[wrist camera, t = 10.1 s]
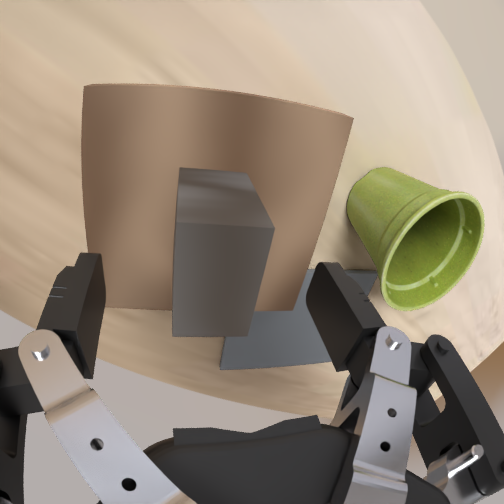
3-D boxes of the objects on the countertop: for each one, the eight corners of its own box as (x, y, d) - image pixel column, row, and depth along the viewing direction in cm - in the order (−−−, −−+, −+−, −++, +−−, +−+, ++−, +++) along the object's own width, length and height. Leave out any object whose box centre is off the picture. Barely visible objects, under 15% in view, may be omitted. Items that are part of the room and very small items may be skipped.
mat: (219, 366, 33) (220, 369, 33) (238, 267, 26) (239, 270, 25) (330, 358, 37) (331, 361, 36) (376, 270, 29) (378, 273, 29)
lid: (100, 293, 17) (82, 377, 12) (92, 84, 11) (29, 102, 6) (287, 297, 20) (318, 374, 15) (342, 113, 14) (420, 150, 9)
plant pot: (429, 152, 23) (500, 196, 16) (404, 243, 28) (455, 300, 21) (337, 142, 21) (407, 190, 14) (320, 249, 26) (364, 322, 19)
